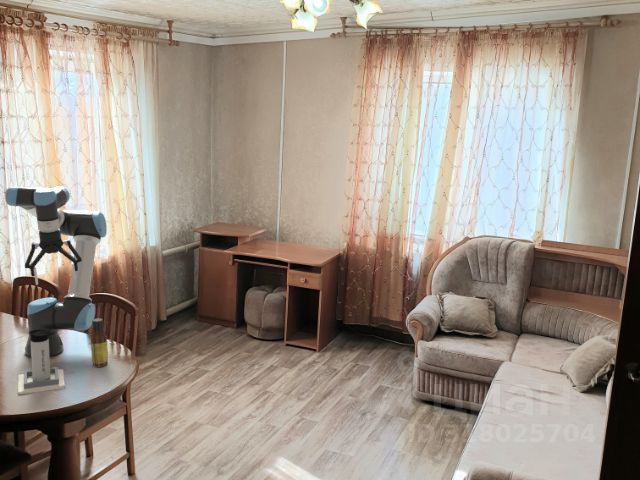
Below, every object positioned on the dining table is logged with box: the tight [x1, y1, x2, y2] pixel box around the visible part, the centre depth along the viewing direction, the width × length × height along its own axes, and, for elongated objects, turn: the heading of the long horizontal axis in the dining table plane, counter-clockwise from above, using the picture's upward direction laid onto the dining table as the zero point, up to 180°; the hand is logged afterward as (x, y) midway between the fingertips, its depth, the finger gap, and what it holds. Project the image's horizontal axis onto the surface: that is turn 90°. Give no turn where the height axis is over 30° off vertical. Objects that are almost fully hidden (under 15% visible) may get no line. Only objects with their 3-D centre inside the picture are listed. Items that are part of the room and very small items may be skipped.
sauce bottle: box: [90, 317, 109, 368], centre depth 247 cm, size 7×6×20 cm
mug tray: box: [17, 366, 66, 396], centre depth 231 cm, size 16×16×3 cm
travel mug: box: [28, 330, 51, 382], centre depth 229 cm, size 6×7×20 cm
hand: (56, 281), depth 233 cm, fingers open, 13 cm apart
